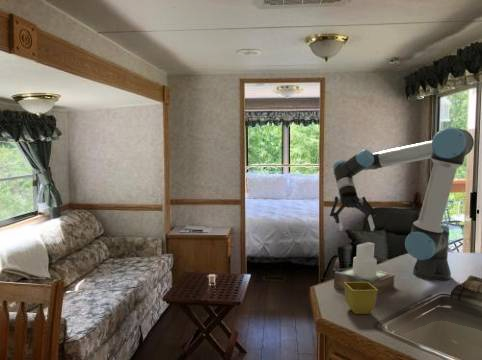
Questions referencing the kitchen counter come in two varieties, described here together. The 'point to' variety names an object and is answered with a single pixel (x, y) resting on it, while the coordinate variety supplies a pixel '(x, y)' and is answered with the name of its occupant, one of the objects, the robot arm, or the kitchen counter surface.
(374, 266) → the cylinder with rectangular tab
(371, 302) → the flower pot
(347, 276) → the dock
